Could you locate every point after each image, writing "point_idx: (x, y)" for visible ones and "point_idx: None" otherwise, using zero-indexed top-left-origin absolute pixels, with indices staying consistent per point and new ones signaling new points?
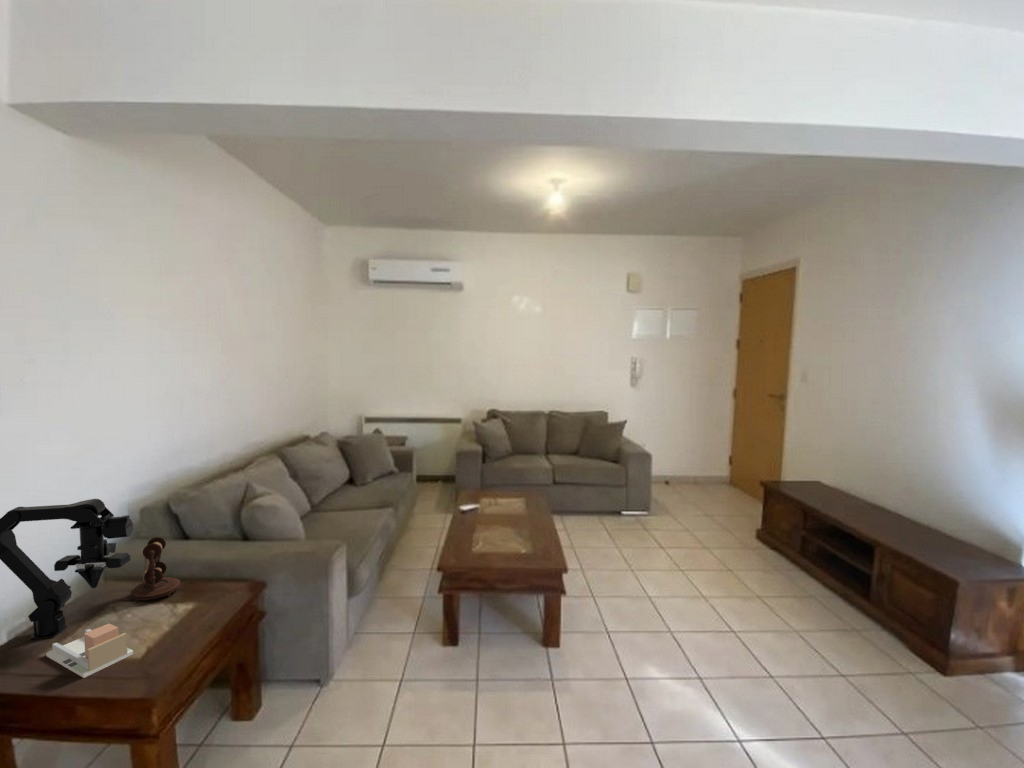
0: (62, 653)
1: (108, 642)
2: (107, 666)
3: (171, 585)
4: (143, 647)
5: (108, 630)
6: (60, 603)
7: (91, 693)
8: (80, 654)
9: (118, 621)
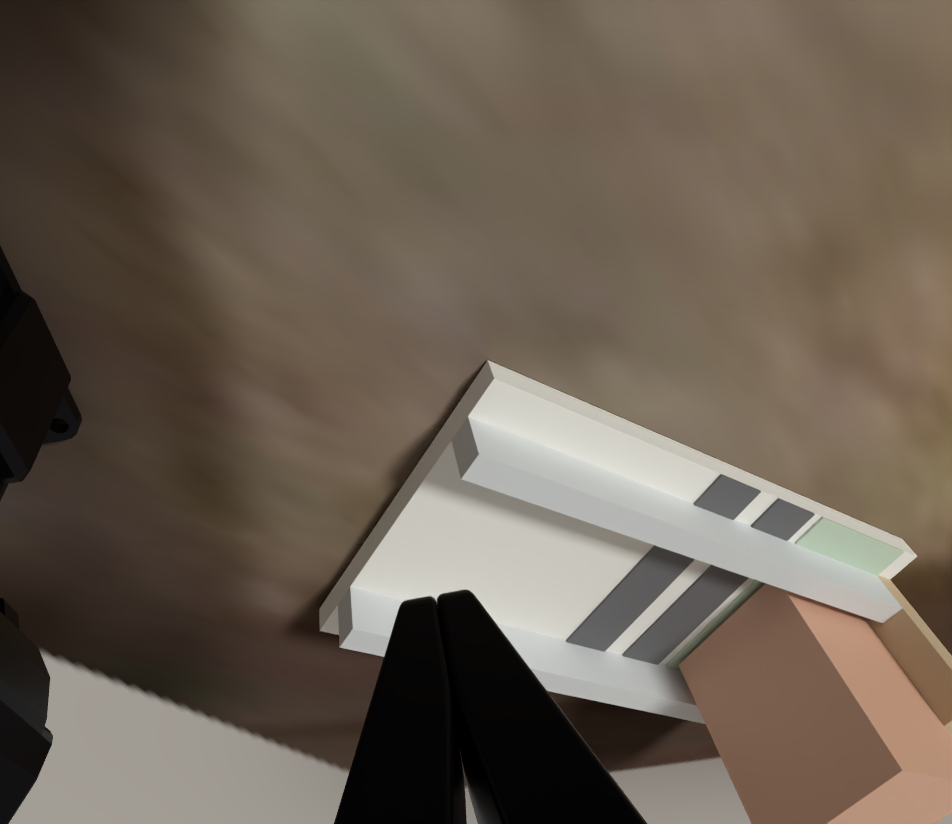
0: None
1: None
2: None
3: None
4: (946, 479)
5: (929, 817)
6: (52, 737)
7: None
8: (598, 621)
9: (557, 83)
